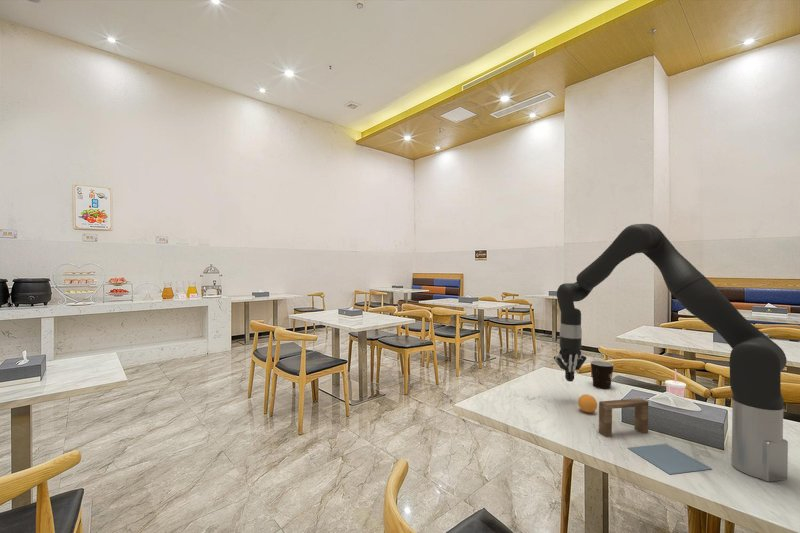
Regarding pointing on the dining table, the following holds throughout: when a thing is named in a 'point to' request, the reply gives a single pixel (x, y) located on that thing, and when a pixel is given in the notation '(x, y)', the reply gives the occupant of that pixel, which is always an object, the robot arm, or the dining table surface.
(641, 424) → the bridge
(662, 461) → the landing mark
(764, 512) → the dining table surface
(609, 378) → the coffee mug
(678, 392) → the beverage cup
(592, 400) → the ball
